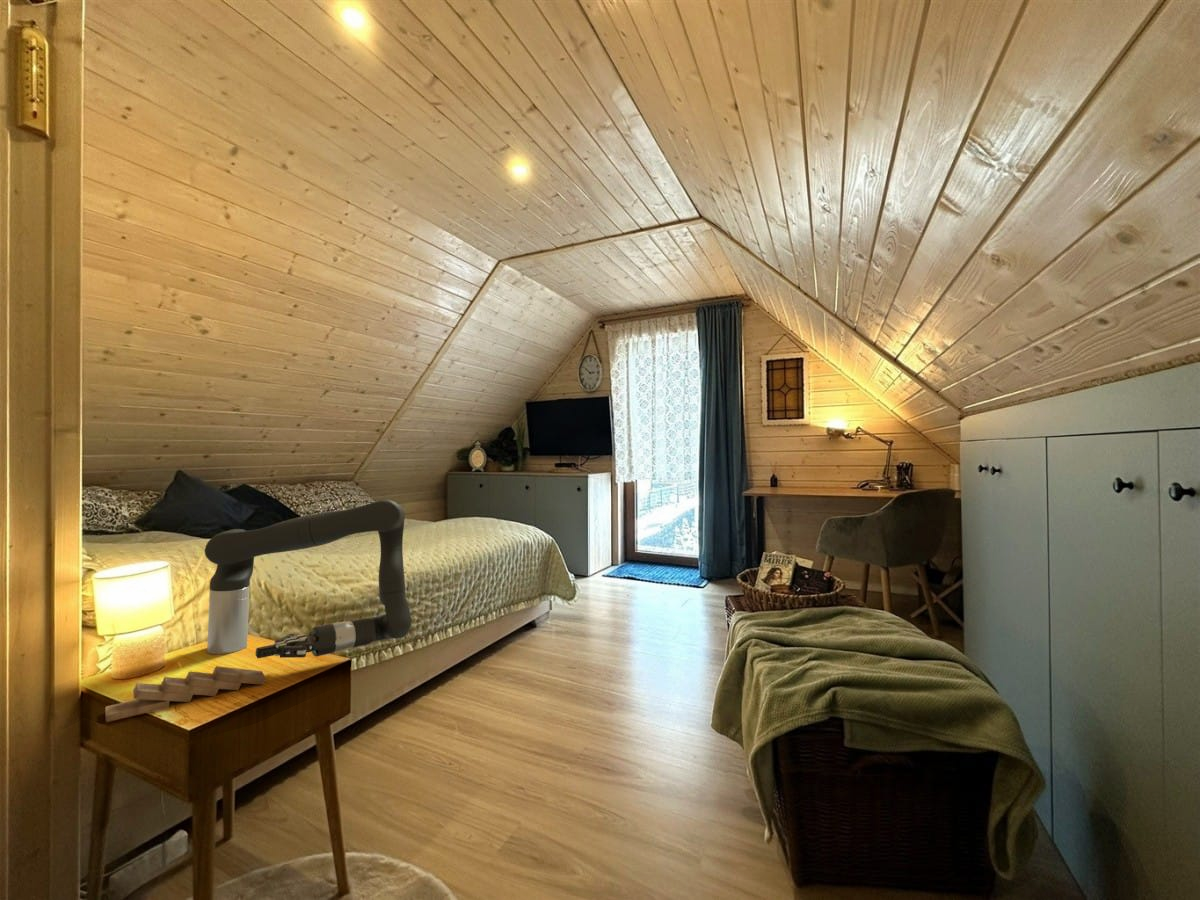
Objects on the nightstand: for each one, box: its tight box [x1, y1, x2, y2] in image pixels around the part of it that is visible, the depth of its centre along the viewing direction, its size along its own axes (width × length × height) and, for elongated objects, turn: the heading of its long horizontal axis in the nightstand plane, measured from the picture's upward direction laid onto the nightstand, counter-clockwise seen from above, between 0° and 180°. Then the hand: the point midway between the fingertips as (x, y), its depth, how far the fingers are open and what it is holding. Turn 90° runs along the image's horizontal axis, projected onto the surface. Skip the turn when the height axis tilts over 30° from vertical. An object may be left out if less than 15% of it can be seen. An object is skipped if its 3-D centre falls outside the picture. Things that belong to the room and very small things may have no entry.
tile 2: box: [185, 671, 242, 691], centre depth 122 cm, size 5×2×10 cm
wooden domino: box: [132, 682, 194, 703], centre depth 115 cm, size 5×2×10 cm
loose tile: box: [212, 665, 266, 685], centre depth 125 cm, size 5×2×10 cm
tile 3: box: [160, 676, 219, 697], centre depth 119 cm, size 5×2×10 cm
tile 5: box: [104, 699, 170, 723], centre depth 113 cm, size 5×2×10 cm
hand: (256, 653), depth 127 cm, fingers closed
